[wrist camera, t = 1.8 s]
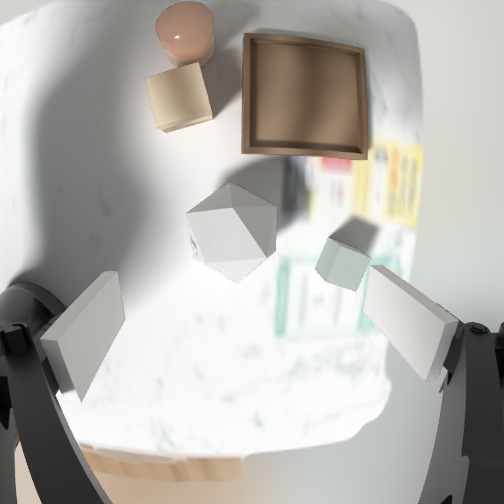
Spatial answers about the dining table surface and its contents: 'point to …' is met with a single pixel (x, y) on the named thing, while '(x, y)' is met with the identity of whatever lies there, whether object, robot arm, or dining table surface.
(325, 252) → the grey-green block
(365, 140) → the walnut tray
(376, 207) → the dining table surface
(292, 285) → the dining table surface
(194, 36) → the peach rounded capsule
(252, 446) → the dining table surface
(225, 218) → the die
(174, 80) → the oak block
